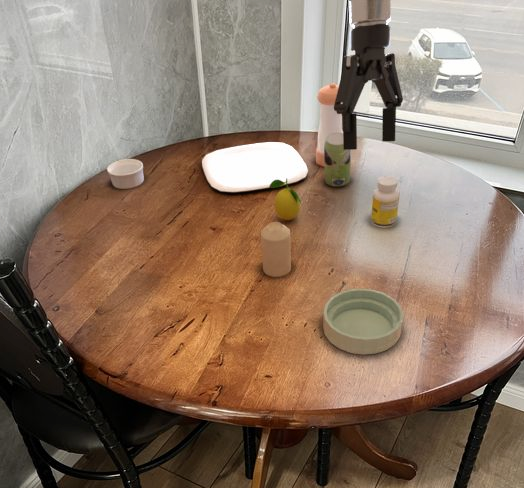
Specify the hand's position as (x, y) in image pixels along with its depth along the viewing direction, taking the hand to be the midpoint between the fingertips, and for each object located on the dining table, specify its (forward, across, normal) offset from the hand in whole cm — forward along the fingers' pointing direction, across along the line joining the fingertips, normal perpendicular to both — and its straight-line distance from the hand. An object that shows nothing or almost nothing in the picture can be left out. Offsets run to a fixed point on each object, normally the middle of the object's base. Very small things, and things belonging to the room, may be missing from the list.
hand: (370, 145), depth 111 cm
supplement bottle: (+16, -2, +2) cm, 16 cm away
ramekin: (+6, +23, -57) cm, 62 cm away
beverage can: (+10, -8, -16) cm, 20 cm away
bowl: (+27, +29, +18) cm, 43 cm away
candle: (+20, +26, -4) cm, 33 cm away
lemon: (+14, +11, -14) cm, 23 cm away
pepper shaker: (+6, -16, -24) cm, 30 cm away
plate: (+6, -1, -36) cm, 37 cm away
